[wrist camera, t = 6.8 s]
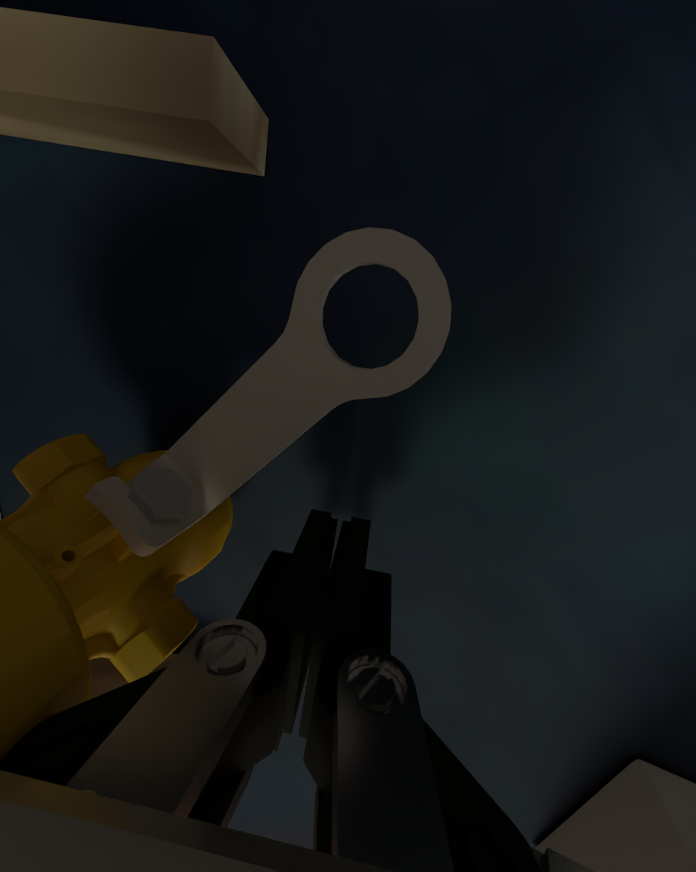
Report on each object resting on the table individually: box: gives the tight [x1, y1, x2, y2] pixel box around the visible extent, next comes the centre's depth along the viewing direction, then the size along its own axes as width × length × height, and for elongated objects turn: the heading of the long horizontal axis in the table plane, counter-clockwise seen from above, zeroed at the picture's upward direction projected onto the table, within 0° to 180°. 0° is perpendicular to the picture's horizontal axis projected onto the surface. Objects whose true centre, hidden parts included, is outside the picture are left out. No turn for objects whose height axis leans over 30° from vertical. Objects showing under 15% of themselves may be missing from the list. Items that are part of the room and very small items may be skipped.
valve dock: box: [0, 7, 269, 700], centre depth 11 cm, size 19×10×3 cm, turn 170°
